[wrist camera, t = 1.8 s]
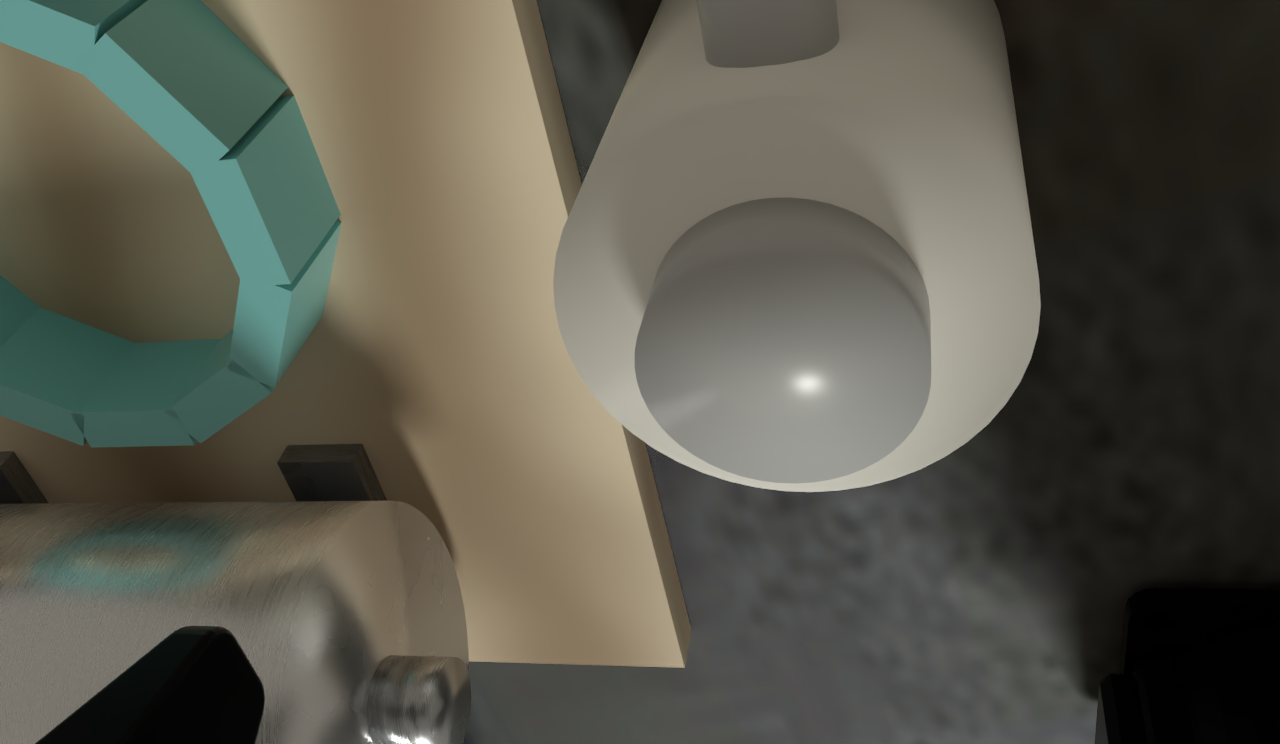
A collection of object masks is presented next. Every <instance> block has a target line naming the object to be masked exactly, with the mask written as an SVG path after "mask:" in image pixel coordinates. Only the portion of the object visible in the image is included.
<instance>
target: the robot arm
mask: <svg viewBox="0 0 1280 744" xmlns="http://www.w3.org/2000/svg"><path fill="white" fill-rule="evenodd" d="M1157 613H1159V614H1157ZM1150 614H1156V615H1150ZM264 704H265V694H264V688H263V684H262V682H261V680H260V678H259V676H258V674H257V673H256V671H255V670H254V668H253V666H252V665H251V663H250V661H249V660H248V658H247V656H246V655H245V653H244V651H243V650H242V648H241V646H240V645H239V643H238V641H237V640H236V638H235V636H234V635H233V634H232V633H231V632H230V631H229V630H228V629H226V628H224V627H219V626H186V627H182V628H180V629H178V630H176V631H174V632H173V633H171V634H170V635H169V636H167V637H166V638H165V639H164V640H162V641H161V642H160V643H159V644H158V645H156V646H155V647H154V648H153V649H151V650H150V651H149V652H148V653H146V654H145V655H144V656H143V657H141V658H140V659H139V660H138V661H136V662H135V663H134V664H133V665H132V666H130V667H129V668H128V669H127V670H125V671H124V672H123V673H122V674H120V675H119V676H118V677H117V678H115V679H114V680H113V681H112V682H111V683H109V684H108V685H107V686H106V687H104V688H103V689H102V690H101V691H99V692H98V693H97V694H96V695H94V696H93V697H92V698H91V699H89V700H88V701H87V702H86V703H85V704H83V705H82V706H81V707H80V708H78V709H77V710H76V711H75V712H73V713H72V714H71V715H70V716H68V717H67V718H66V719H65V720H64V721H62V722H61V723H60V724H59V725H57V726H56V727H55V728H54V729H52V730H51V731H50V732H49V733H47V734H46V735H45V736H44V737H42V738H41V739H40V740H39V741H38V742H36V743H35V744H255V742H256V738H257V734H258V731H259V727H260V723H261V720H262V716H263V711H264ZM1095 744H1280V590H1261V589H1169V588H1154V589H1145V590H1142V591H1140V592H1137V593H1135V594H1134V595H1132V596H1131V597H1130V598H1129V599H1128V601H1127V603H1126V607H1125V618H1124V629H1123V641H1122V652H1121V663H1120V674H1118V673H1109V674H1108V675H1107V676H1106V677H1105V678H1104V679H1103V680H1102V681H1101V682H1100V683H1099V693H1098V707H1097V721H1096V735H1095Z"/></svg>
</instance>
